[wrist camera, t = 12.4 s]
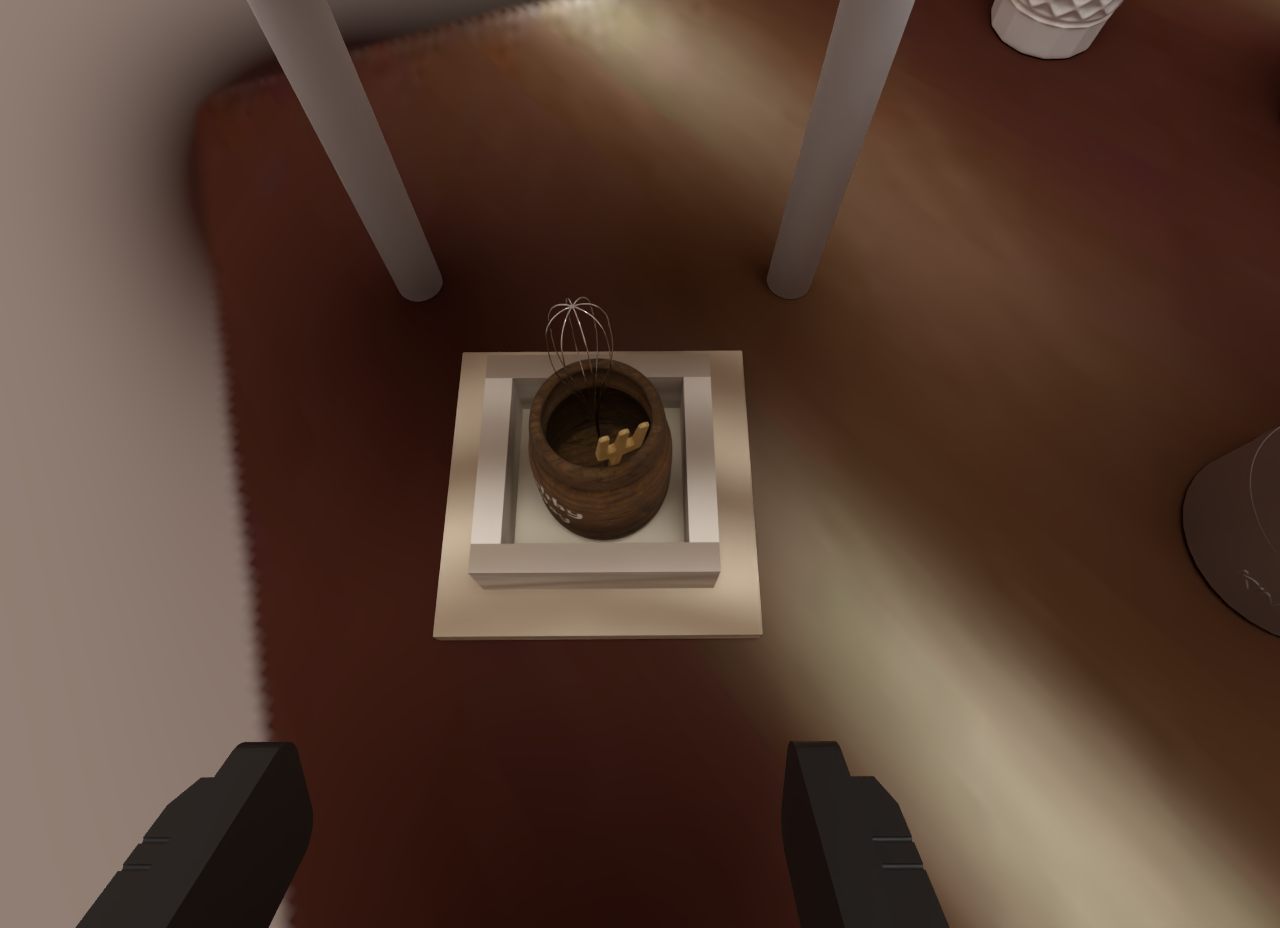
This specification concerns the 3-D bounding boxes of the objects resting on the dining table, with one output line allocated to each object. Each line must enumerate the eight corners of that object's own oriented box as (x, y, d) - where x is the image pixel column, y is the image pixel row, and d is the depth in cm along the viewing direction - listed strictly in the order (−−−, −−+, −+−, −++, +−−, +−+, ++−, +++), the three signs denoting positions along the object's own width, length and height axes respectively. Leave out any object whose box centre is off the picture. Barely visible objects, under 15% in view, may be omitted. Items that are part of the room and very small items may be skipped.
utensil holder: (641, 408, 34) (641, 239, 22) (691, 524, 31) (719, 399, 20) (524, 448, 33) (465, 293, 22) (567, 570, 31) (526, 467, 19)
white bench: (841, 527, 32) (1577, -298, 7) (360, 531, 32) (-676, -287, 7) (808, 262, 38) (1142, -712, 13) (401, 265, 38) (-78, -707, 13)
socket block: (759, 638, 30) (775, 622, 27) (439, 640, 30) (411, 624, 27) (739, 361, 36) (750, 315, 32) (467, 362, 36) (447, 318, 32)
